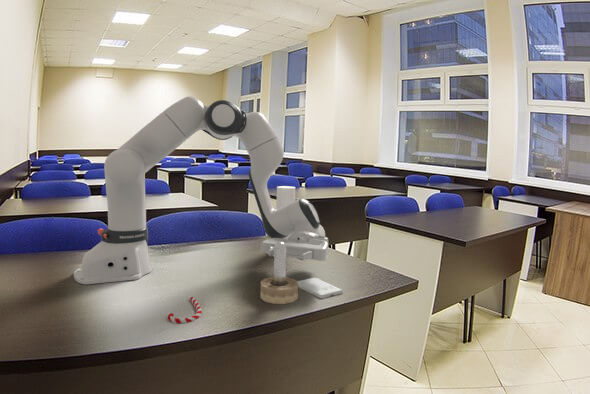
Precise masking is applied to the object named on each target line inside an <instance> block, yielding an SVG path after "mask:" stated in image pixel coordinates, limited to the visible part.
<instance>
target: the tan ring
mask: <svg viewBox="0 0 590 394" xmlns="http://www.w3.org/2000/svg"><path fill="white" fill-rule="evenodd" d="M297 281H298V280H297V279H296V280H295V279H294V278H292V277H287V276H285V286H274V276H271V277H266V278H264V279H261V281H260V299H261V300H262V301H263V302H265V303H269V304H273V305H286V304H292V303H294V302H295V301H297V300H298V299H299V287H298V282H297Z"/></svg>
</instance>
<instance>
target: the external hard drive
mask: <svg viewBox="0 0 590 394" xmlns="http://www.w3.org/2000/svg"><path fill="white" fill-rule="evenodd" d="M296 281H297V282H298V289H301V290H303V291H305V292H307V293H309V294H311V295H313V296H315V297H316V298H319V299H321V298H322V299H325V298H329V297H331V295H332V296H337V295H340V294H341V295H342V294H344V291H343V289H341V288H339V287H336V286H335V285H332V284H330V283H328V282H326V281H323V280H322V279H320V278H318V277H311V278H306V279H302V280H296Z"/></svg>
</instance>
